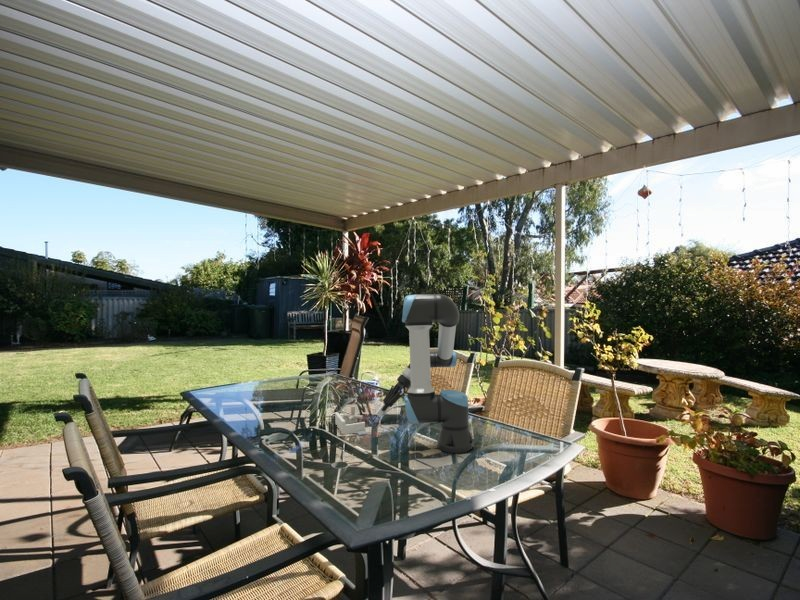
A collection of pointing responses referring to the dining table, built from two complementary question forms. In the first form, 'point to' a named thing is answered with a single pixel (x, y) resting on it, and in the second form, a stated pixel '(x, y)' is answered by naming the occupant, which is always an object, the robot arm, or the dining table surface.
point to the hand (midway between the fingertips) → (377, 415)
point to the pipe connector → (353, 415)
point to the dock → (349, 425)
